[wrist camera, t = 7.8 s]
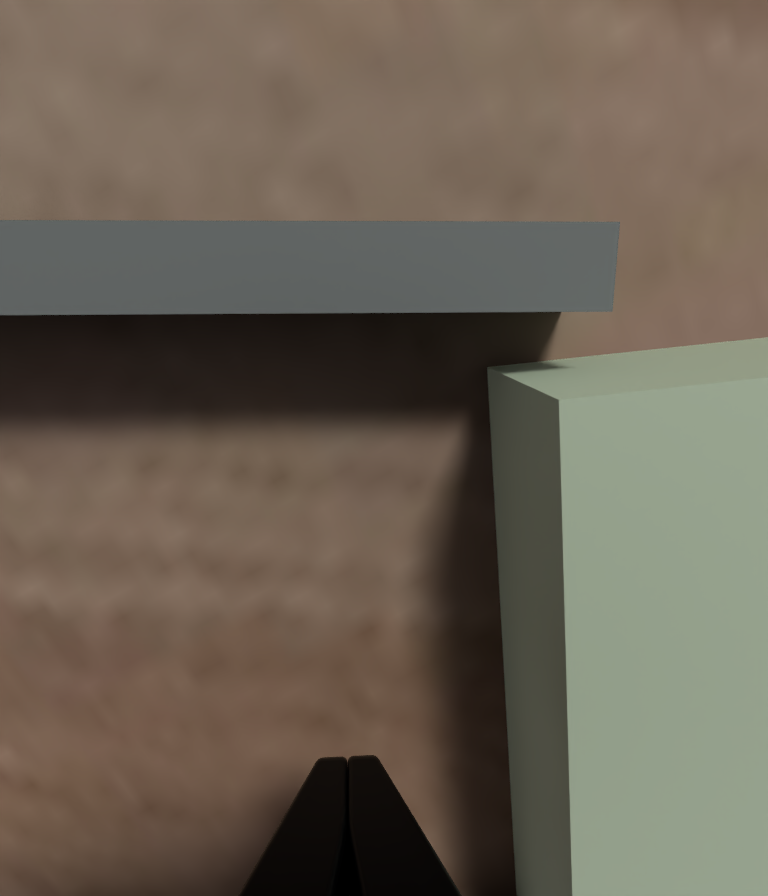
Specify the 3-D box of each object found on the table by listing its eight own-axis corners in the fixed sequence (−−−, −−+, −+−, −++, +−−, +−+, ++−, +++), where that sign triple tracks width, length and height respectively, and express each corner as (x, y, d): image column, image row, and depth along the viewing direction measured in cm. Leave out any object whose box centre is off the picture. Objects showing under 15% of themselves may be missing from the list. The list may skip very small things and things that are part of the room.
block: (512, 882, 14) (578, 1108, 10) (483, 365, 11) (559, 399, 7) (763, 847, 14) (923, 1055, 10) (799, 331, 11) (1042, 347, 7)
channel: (-366, 998, 13) (-493, 1124, 11) (-676, 236, 9) (-954, 217, 7) (522, 939, 14) (550, 1043, 12) (567, 237, 10) (619, 221, 8)
